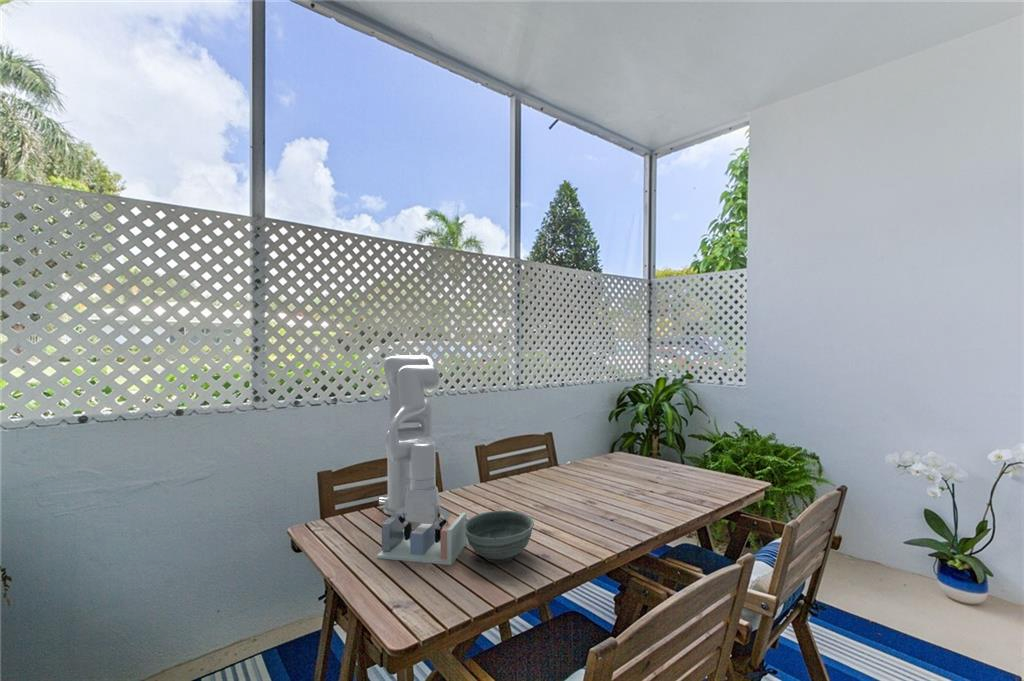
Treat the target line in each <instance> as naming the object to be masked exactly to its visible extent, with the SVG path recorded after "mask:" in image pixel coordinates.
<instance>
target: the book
mask: <svg viewBox="0 0 1024 681" xmlns="http://www.w3.org/2000/svg"><path fill="white" fill-rule="evenodd" d="M435 529H436V527H435V525H434V524H423V523H419V525H418V526H417V527H416V528H415V529H414V530H412V532H411V533H410V554H416V555H424V554H425V552H426V551H427V550H428V549H429V548H430V547H431V546H432V545H433V544H434V543H435Z"/></svg>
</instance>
